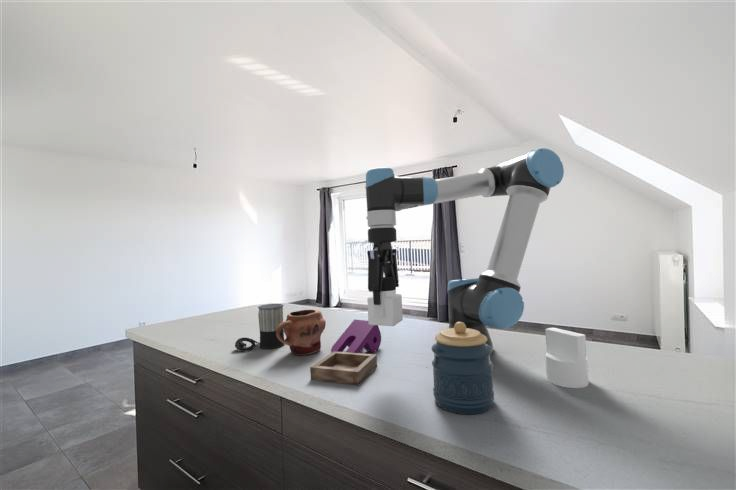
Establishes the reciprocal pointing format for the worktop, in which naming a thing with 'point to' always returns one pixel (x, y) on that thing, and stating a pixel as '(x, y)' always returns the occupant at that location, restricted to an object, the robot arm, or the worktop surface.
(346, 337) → the mounting bracket
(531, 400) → the worktop surface
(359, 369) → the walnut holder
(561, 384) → the base with upright slab
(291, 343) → the terracotta mug
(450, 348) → the canister
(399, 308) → the medicine bottle
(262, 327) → the milk frother
